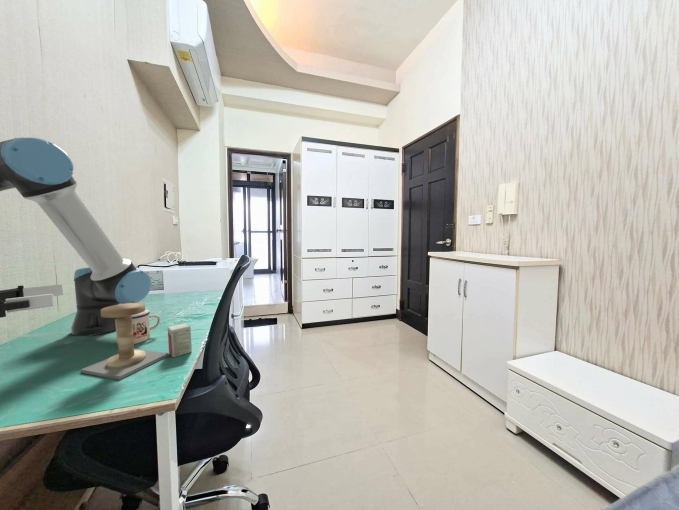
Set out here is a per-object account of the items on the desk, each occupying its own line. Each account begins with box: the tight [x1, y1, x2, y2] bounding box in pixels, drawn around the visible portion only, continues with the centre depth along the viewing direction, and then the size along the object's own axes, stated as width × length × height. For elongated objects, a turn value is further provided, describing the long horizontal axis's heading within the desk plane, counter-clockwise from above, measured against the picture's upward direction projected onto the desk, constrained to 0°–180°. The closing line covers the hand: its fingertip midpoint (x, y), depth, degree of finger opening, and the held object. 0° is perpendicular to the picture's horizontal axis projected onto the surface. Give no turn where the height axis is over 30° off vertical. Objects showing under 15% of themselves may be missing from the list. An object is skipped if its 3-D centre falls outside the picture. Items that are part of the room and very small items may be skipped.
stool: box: [101, 302, 146, 368], centre depth 70 cm, size 9×9×14 cm
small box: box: [167, 322, 192, 358], centre depth 77 cm, size 5×4×8 cm
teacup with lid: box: [114, 308, 161, 345], centre depth 87 cm, size 12×9×12 cm
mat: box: [80, 347, 170, 381], centre depth 71 cm, size 13×13×1 cm
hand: (58, 294), depth 64 cm, fingers open, 13 cm apart
